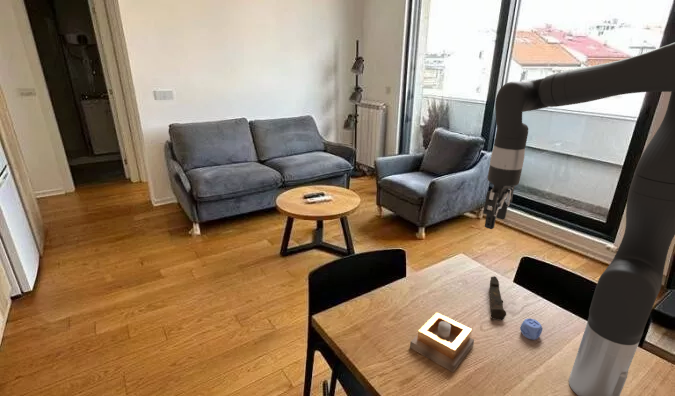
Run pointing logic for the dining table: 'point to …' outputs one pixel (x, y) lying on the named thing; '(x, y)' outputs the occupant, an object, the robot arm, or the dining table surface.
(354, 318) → the dining table surface
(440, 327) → the keeper
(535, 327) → the decorative dice
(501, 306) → the hand tool
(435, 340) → the link
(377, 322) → the dining table surface
